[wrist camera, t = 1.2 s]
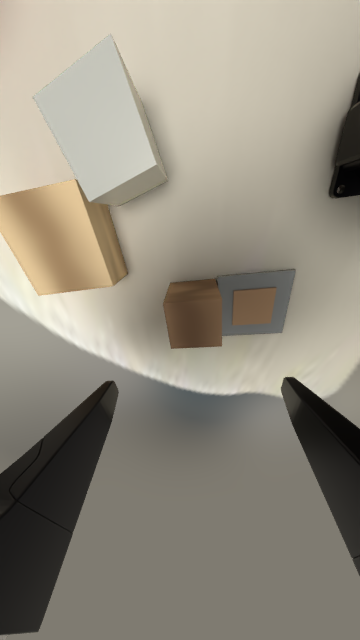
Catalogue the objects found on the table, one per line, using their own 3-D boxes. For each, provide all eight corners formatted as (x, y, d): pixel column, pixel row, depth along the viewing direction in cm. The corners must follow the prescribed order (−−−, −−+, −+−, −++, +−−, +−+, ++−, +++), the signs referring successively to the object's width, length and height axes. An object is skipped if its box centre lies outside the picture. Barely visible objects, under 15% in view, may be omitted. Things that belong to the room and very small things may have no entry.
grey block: (141, 100, 12) (110, 33, 7) (168, 180, 14) (156, 164, 9) (87, 137, 13) (32, 96, 8) (119, 206, 15) (89, 201, 10)
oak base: (103, 188, 14) (75, 179, 11) (128, 272, 18) (113, 286, 14) (29, 203, 15) (-19, 200, 12) (66, 281, 19) (38, 295, 15)
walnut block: (214, 278, 17) (222, 299, 13) (215, 317, 20) (221, 346, 15) (170, 282, 18) (162, 303, 14) (175, 320, 20) (171, 348, 16)
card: (294, 269, 16) (296, 270, 16) (280, 331, 20) (282, 333, 19) (217, 276, 17) (218, 277, 17) (218, 334, 21) (218, 337, 20)
